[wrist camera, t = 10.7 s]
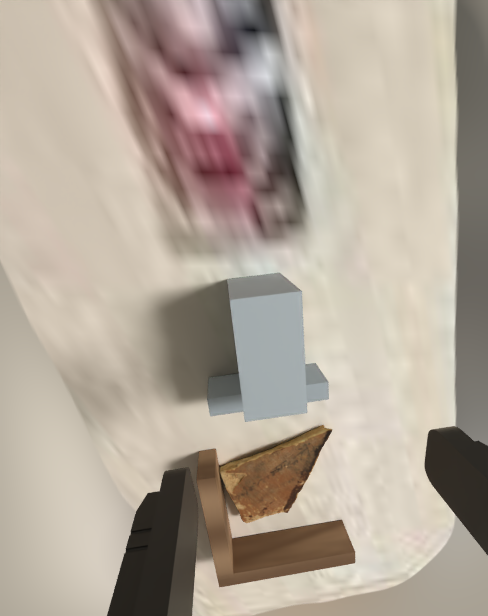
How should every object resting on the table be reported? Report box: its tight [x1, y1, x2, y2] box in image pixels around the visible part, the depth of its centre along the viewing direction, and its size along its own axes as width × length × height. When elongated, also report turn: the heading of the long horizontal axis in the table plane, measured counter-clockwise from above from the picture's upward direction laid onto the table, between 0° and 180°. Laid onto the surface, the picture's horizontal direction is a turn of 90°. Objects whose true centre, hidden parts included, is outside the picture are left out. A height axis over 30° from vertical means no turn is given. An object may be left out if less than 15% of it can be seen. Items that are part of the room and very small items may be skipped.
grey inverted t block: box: [207, 273, 329, 422], centre depth 20 cm, size 10×9×6 cm
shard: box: [219, 425, 332, 523], centre depth 26 cm, size 11×8×2 cm
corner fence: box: [197, 449, 355, 587], centre depth 26 cm, size 13×13×3 cm
